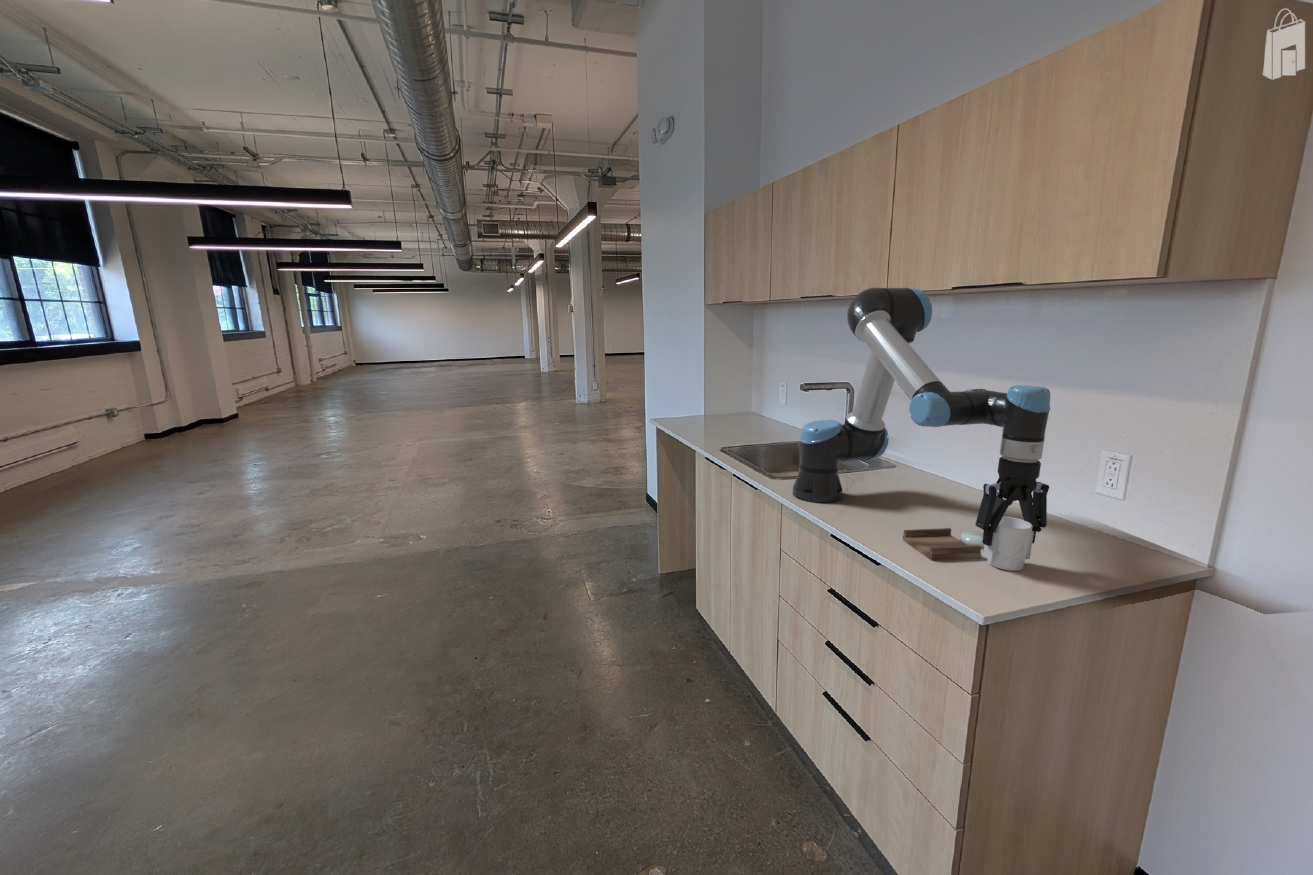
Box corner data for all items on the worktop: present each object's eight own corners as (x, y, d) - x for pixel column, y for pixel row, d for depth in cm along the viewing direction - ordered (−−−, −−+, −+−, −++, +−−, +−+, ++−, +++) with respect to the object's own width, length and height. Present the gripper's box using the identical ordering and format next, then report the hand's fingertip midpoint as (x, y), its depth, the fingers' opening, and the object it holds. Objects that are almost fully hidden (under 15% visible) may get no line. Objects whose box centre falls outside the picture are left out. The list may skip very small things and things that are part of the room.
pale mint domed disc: (954, 539, 136) (955, 532, 135) (980, 538, 136) (981, 530, 136) (973, 550, 129) (974, 543, 128) (1000, 549, 130) (1001, 541, 129)
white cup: (991, 554, 126) (997, 513, 124) (1031, 565, 120) (1037, 522, 118) (979, 563, 121) (984, 521, 119) (1020, 575, 115) (1026, 531, 113)
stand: (902, 539, 135) (903, 529, 134) (947, 537, 136) (948, 527, 135) (931, 560, 123) (932, 549, 122) (980, 557, 124) (981, 546, 124)
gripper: (987, 464, 111) (974, 567, 116) (1079, 461, 113) (1062, 562, 118) (963, 455, 118) (952, 552, 123) (1049, 453, 120) (1035, 548, 125)
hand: (1006, 557), depth 120 cm, fingers closed on white cup, 8 cm apart
